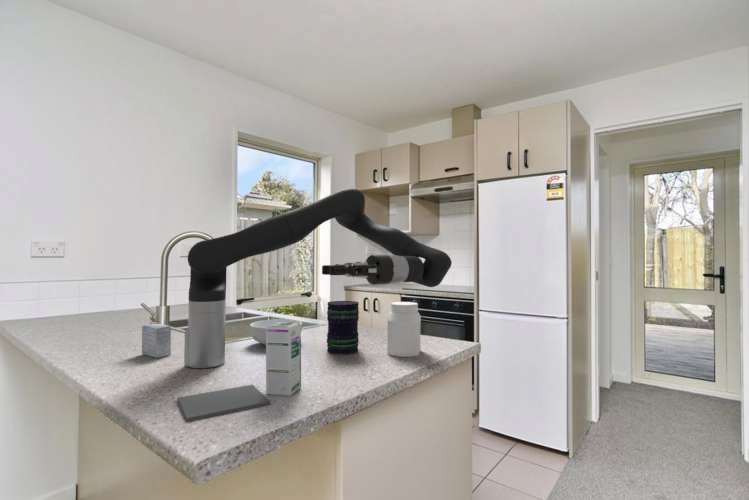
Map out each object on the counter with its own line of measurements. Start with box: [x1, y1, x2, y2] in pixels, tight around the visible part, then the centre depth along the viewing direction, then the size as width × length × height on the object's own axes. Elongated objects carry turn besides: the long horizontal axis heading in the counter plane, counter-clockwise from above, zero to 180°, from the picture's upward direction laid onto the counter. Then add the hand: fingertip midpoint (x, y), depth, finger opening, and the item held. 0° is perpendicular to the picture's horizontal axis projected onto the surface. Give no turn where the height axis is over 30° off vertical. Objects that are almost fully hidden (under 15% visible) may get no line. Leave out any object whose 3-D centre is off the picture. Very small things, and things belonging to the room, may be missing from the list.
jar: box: [386, 301, 422, 358], centre depth 121 cm, size 12×10×15 cm
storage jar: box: [326, 300, 360, 356], centre depth 122 cm, size 10×10×15 cm
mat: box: [177, 384, 271, 422], centre depth 78 cm, size 15×12×1 cm
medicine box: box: [141, 323, 172, 359], centre depth 115 cm, size 8×4×9 cm, turn 58°
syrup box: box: [265, 322, 302, 397], centre depth 85 cm, size 6×6×14 cm
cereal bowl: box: [249, 318, 303, 346], centre depth 130 cm, size 17×17×7 cm
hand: (326, 270), depth 91 cm, fingers open, 3 cm apart
